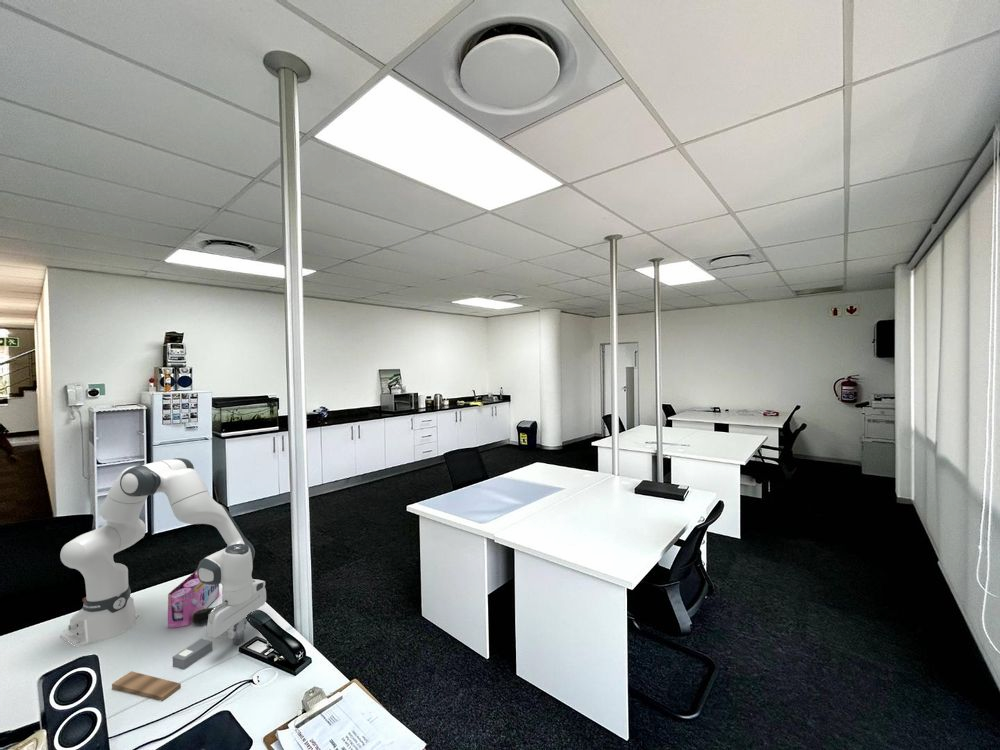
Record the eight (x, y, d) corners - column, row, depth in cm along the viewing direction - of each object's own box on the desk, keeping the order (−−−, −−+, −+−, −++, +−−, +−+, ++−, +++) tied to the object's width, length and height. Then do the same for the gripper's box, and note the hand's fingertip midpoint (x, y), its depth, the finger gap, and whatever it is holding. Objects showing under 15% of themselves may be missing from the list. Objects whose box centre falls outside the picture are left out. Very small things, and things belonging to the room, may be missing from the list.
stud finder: (172, 669, 126) (172, 656, 126) (201, 650, 135) (201, 637, 135) (184, 672, 125) (183, 659, 125) (212, 653, 133) (212, 640, 133)
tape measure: (211, 621, 148) (211, 610, 148) (189, 626, 145) (189, 615, 146) (217, 615, 154) (217, 605, 155) (196, 620, 151) (196, 610, 152)
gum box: (187, 628, 146) (186, 594, 146) (164, 631, 145) (163, 596, 145) (220, 594, 168) (219, 564, 168) (200, 596, 167) (200, 566, 167)
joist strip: (112, 691, 117) (111, 683, 117) (131, 678, 122) (131, 671, 122) (162, 705, 112) (162, 697, 112) (180, 691, 117) (180, 683, 117)
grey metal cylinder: (230, 644, 136) (229, 619, 136) (239, 637, 139) (238, 613, 139) (238, 645, 135) (237, 620, 135) (246, 639, 138) (246, 614, 138)
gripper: (216, 612, 126) (217, 655, 126) (269, 579, 146) (269, 616, 146) (201, 609, 128) (201, 651, 128) (255, 576, 147) (255, 613, 148)
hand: (238, 632), depth 137 cm, fingers closed on grey metal cylinder, 3 cm apart
